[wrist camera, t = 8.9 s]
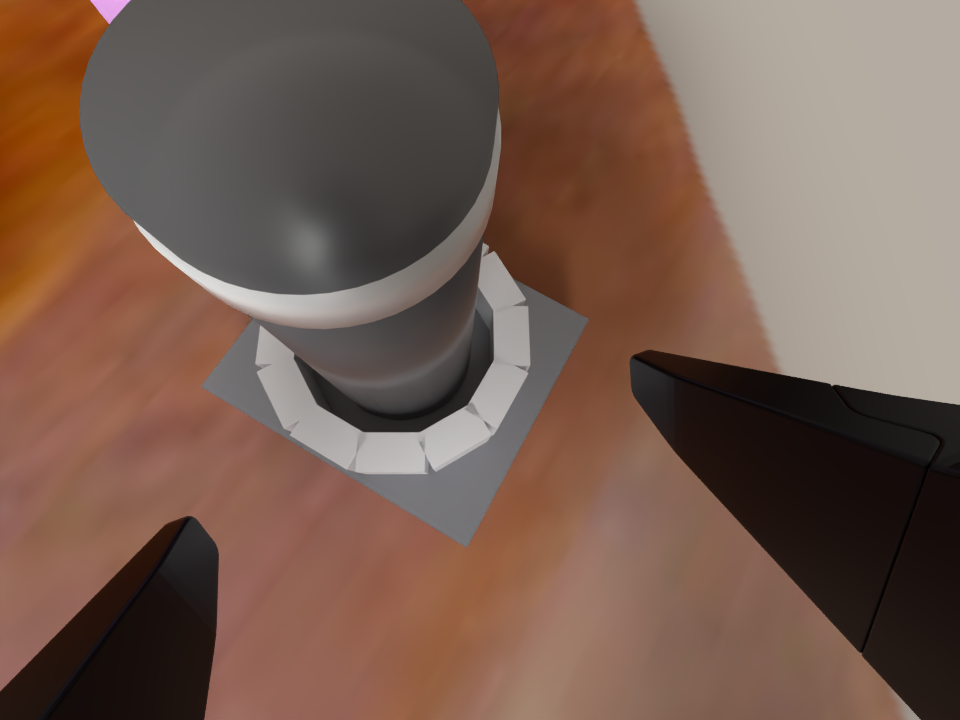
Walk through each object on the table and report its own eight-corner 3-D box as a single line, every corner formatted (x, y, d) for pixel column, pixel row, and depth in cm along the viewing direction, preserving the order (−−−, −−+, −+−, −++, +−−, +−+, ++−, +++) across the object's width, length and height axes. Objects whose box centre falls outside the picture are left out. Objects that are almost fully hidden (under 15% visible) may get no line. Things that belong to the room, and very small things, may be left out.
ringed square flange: (570, 342, 21) (604, 298, 16) (465, 538, 18) (468, 555, 14) (364, 230, 22) (338, 157, 17) (238, 401, 19) (167, 372, 15)
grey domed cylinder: (495, 387, 17) (580, 179, 6) (362, 447, 16) (136, 352, 5) (438, 269, 18) (409, -107, 7) (311, 320, 17) (27, -9, 6)
